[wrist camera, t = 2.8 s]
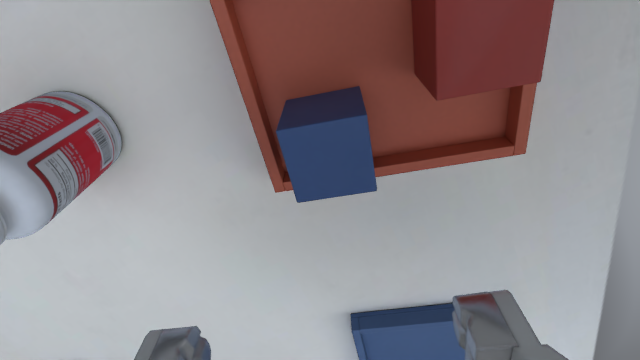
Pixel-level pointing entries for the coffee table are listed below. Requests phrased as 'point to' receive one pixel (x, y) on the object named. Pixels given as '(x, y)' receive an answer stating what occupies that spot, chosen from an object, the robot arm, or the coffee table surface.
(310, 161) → the blue block
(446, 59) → the red block
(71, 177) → the pill bottle
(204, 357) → the robot arm
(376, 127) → the red tray
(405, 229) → the coffee table surface
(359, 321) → the blue tray
